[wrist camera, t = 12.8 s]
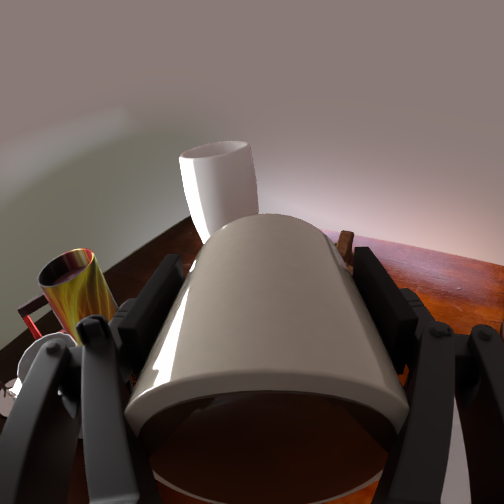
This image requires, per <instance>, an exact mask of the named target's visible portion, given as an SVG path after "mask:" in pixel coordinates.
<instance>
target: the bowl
mask: <svg viewBox="0 0 504 504" xmlns="http://www.w3.org/2000/svg"><path fill="white" fill-rule="evenodd" d="M440 502H441V504H471V494H470V483H469V474H468V466H467V459H466V452H465V446H464V440H463V434H462V429H461V423H460V418H459V414H458V409H457V405H456V400H455V396H454V411H453V424H452V434H451V443H450V450H449V457H448V464H447V470H446V475H445V481H444V486H443V491H442V495H441V501H440Z"/></svg>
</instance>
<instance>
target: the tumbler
mask: <svg viewBox="0 0 504 504" xmlns="http://www.w3.org/2000/svg"><path fill="white" fill-rule="evenodd" d="M409 411H410V404H409V401H408V398H407V396H406V393H405V391H404V389H403V386H402V384H401V381H400V379H399V377H398V374H397V372H396V369H395V367H394V365H393V362H392V360H391V358H390V356H389V353H388V351H387V349H386V347H385V344H384V342H383V340H382V338H381V336H380V333H379V331H378V329H377V327H376V325H375V323H374V320H373V318H372V316H371V314H370V312H369V310H368V308H367V306H366V304H365V302H364V300H363V298H362V295H361V293H360V291H359V289H358V287H357V285H356V283H355V281H354V279H353V277H352V275H351V273H350V272H349V270H348V268H347V266H346V264H345V262H344V260H343V258H342V256H341V254H340V252H339V251H338V249H337V248H336V246H335V245H334V243H333V242H332V241H331V240H330V239H329V238H328V236H326V235H325V234H324V233H323V232H322V231H321V230H319V229H318V228H316V227H315V226H313V225H311V224H310V223H307V222H305V221H303V220H301V219H297V218H295V217H291V216H286V215H281V214H257V215H252V216H247V217H243V218H241V219H238V220H235V221H233V222H231V223H229V224H227V225H225V226H223V227H222V228H221V229H219V230H218V231H216V232H215V233H214V234H213V235H212V236H211V237H210V238H209V239H208V240H207V241H206V242H205V243H204V245H203V246H202V247H201V249H200V251H199V252H198V254H197V256H196V258H195V260H194V262H193V264H192V266H191V268H190V270H189V272H188V274H187V276H186V278H185V280H184V282H183V284H182V286H181V288H180V290H179V292H178V294H177V296H176V298H175V300H174V302H173V304H172V306H171V308H170V310H169V313H168V315H167V317H166V319H165V321H164V323H163V325H162V327H161V329H160V332H159V334H158V336H157V338H156V340H155V342H154V344H153V347H152V349H151V351H150V353H149V355H148V357H147V360H146V362H145V364H144V366H143V368H142V371H141V373H140V375H139V377H138V380H137V382H136V384H135V386H134V389H133V391H132V393H131V396H130V398H129V400H128V403H127V405H126V407H125V410H124V416H125V418H126V420H127V421H128V423H129V425H130V427H131V428H132V430H133V432H134V433H135V435H136V437H137V438H138V441H139V443H140V445H141V446H142V448H143V449H144V451H145V452H146V454H147V456H148V457H149V460H150V463H151V467H152V470H153V474H154V477H155V479H156V480H158V481H159V482H161V483H162V484H164V485H166V486H168V487H170V488H172V489H174V490H176V491H178V492H181V493H183V494H185V495H188V496H191V497H194V498H196V499H199V500H203V501H206V502H210V503H214V504H320V503H324V502H328V501H331V500H335V499H338V498H341V497H344V496H346V495H349V494H351V493H354V492H356V491H358V490H360V489H363V488H364V487H366V486H368V485H370V484H372V483H374V482H375V481H377V480H378V479H380V478H381V475H382V472H383V469H384V466H385V463H386V460H387V457H388V454H389V452H390V450H391V448H392V446H393V444H394V443H395V441H396V439H397V436H398V434H399V432H400V430H401V428H402V426H403V424H404V422H405V420H406V417H407V415H408V413H409Z"/></svg>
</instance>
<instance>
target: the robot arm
mask: <svg viewBox="0 0 504 504" xmlns="http://www.w3.org/2000/svg"><path fill="white" fill-rule="evenodd" d="M352 277H353V279H354V281H355V283H356V285H357V287H358V289H359V291H360V293H361V295H362V298H363V300H364V302H365V304H366V306H367V308H368V310H369V312H370V314H371V316H372V318H373V320H374V323H375V325H376V327H377V329H378V331H379V333H380V336H381V338H382V340H383V342H384V344H385V347H386V349H387V351H388V353H389V356H390V358H391V360H392V362H393V365H394V367H395V369H396V372H397V374H398V375H400V374H403V371H404V368H405V365H406V364H407V366H408V368H409V370H410V371H409V374H408V377H407V379H406V382H405V385H404V388H403V389H404V391H405V393H406V396H407V398H408V401H409V404H410V411H409V413H408V415H407V417H406V420H405V422H404V424H403V426H402V428H401V430H400V432H399V434H398V436H397V439H396V441H395V443H394V444H393V446H392V448H391V450H390V452H389V454H388V457H387V460H386V463H385V466H384V469H383V472H382V475H381V478H380V481H379V484H378V487H377V489H376V492H375V495H374V497H373V500H372V502H371V504H441V502H440V501H441V495H442V491H443V486H444V481H445V475H446V470H447V464H448V457H449V450H450V443H451V434H452V424H453V411H454V396H455V400H456V405H457V409H458V414H459V418H460V423H461V429H462V434H463V440H464V446H465V452H466V459H467V466H468V474H469V483H470V494H471V504H504V320H503V322H502V325H501V328H500V335H499V334H498V332H497V331H496V330H495V329H493V328H492V327H490V326H488V325H482V324H480V325H476V326H474V327H473V328H472V331H471V334H470V335H463V334H454V331H453V329H452V328H451V327H450V326H449V325H447V324H445V323H443V322H439V321H435V319H434V318H433V316H432V315H431V314H430V312H429V311H428V309H427V308H426V307H425V306H424V304H423V303H422V301H420V299H419V297H418V296H417V294H416V293H414V292H413V291H411V290H410V289H408V288H402V289H399V288H398V287H397V285H396V284H395V283H394V281H393V280H392V278H391V277H390V276H389V274H388V273H387V271H386V270H385V269H384V267H383V266H382V264H381V263H380V262H379V260H378V259H377V258H376V256H375V255H374V254H373V252H372V251H371V250H370V248H369V247H355V249H354V263H353V275H352ZM184 280H185V278H184V272H183V266H182V260H181V254H168V255H166V257H165V258H164V259H163V261H162V262H161V264H160V265H159V267H158V268H157V269H156V271H155V272H154V274H153V275H152V276H151V278H150V279H149V281H148V282H147V284H146V285H145V287H144V288H143V289H142V291H141V292H140V294H139V295H138V297H137V298H136V299H128V300H127V301H126V302H124V303H123V304H122V305H121V306H120V307H119V309H118V310H117V312H116V313H115V314H114V316H113V317H112V319H111V320H110V322H109V323H108V322H107V319H106V317H105V316H103V315H98V314H96V315H90V316H87V317H85V318H83V319H82V320H80V321H79V322H78V323H77V325H76V327H75V328H76V330H77V333H78V335H79V337H80V340H81V342H82V344H83V346H77V347H70V348H68V346H67V344H66V341H65V340H63V339H60V338H56V339H51V340H49V341H47V342H46V343H44V344H43V345H42V346H41V348H40V349H39V351H38V353H37V355H36V357H35V359H34V361H33V363H32V365H31V367H30V369H29V371H28V373H27V375H26V377H25V379H24V381H23V384H22V386H21V388H20V390H19V392H18V394H17V397H16V399H15V401H14V403H13V406H12V408H11V411H10V413H9V415H8V418H7V420H6V423H5V425H4V428H3V430H2V433H1V436H0V504H67V499H68V492H69V485H70V479H71V473H72V468H73V462H74V457H75V452H76V447H77V442H78V438H79V433H80V429H81V424H82V433H83V448H84V459H85V469H86V477H87V485H88V492H89V499H90V503H89V504H163V502H162V499H161V496H160V493H159V490H158V487H157V484H156V481H155V477H154V474H153V470H152V467H151V463H150V460H149V457H148V456H147V454H146V452H145V451H144V449H143V448H142V446H141V445H140V443H139V441H138V438H137V437H136V435H135V433H134V432H133V430H132V428H131V427H130V425H129V423H128V421H127V420H126V418H125V416H124V410H125V407H126V405H127V403H128V400H129V398H130V396H131V393H132V391H133V385H132V383H131V381H130V377H131V374H132V372H134V374H135V377H136V379H137V380H138V377H139V375H140V373H141V371H142V368H143V366H144V364H145V362H146V360H147V357H148V355H149V353H150V351H151V349H152V347H153V344H154V342H155V340H156V338H157V336H158V334H159V332H160V329H161V327H162V325H163V323H164V321H165V319H166V317H167V315H168V313H169V310H170V308H171V306H172V304H173V302H174V300H175V298H176V296H177V294H178V292H179V290H180V288H181V286H182V284H183V282H184ZM58 388H59V391H58Z"/></svg>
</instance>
